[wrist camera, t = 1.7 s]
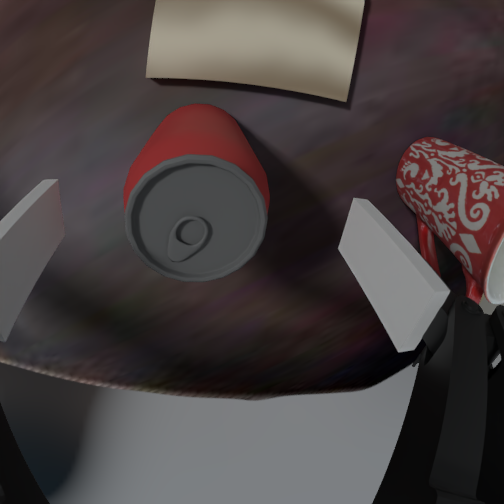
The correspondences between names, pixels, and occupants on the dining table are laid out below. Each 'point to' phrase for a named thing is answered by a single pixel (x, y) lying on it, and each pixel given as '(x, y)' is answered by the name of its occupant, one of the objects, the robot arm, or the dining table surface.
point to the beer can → (196, 197)
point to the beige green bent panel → (258, 43)
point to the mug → (457, 210)
